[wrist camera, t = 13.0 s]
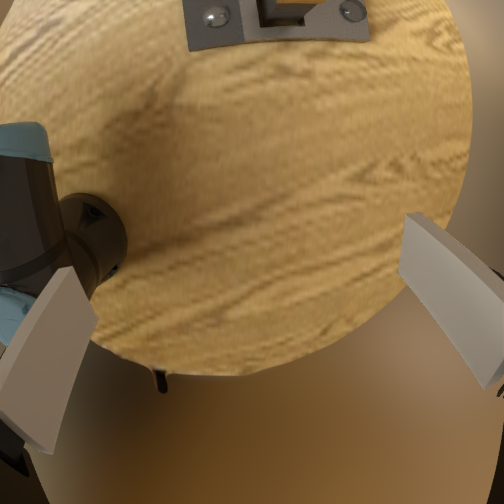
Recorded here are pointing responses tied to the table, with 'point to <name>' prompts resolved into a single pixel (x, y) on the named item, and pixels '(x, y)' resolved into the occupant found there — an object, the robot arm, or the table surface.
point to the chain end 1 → (215, 24)
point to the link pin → (285, 11)
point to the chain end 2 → (312, 23)
